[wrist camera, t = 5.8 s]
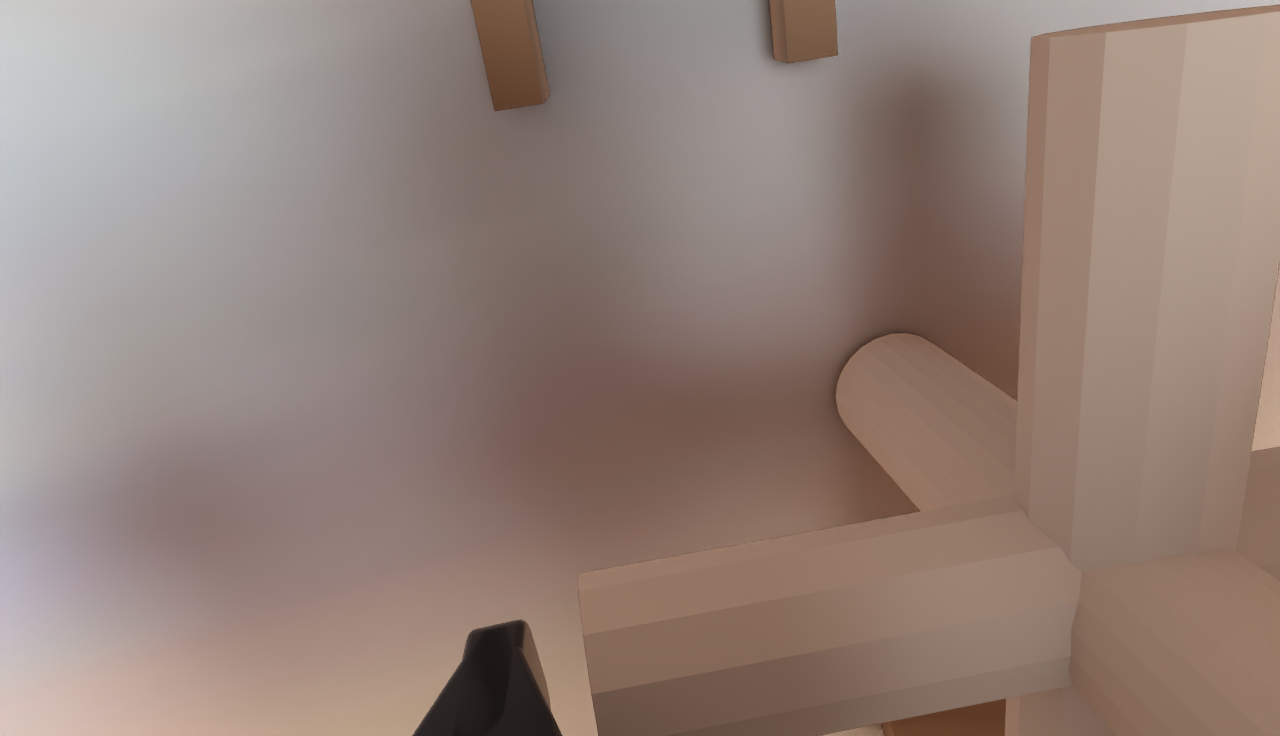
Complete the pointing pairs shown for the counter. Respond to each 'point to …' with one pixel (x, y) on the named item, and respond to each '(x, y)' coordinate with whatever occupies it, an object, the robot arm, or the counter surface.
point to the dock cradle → (797, 36)
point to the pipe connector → (1033, 455)
